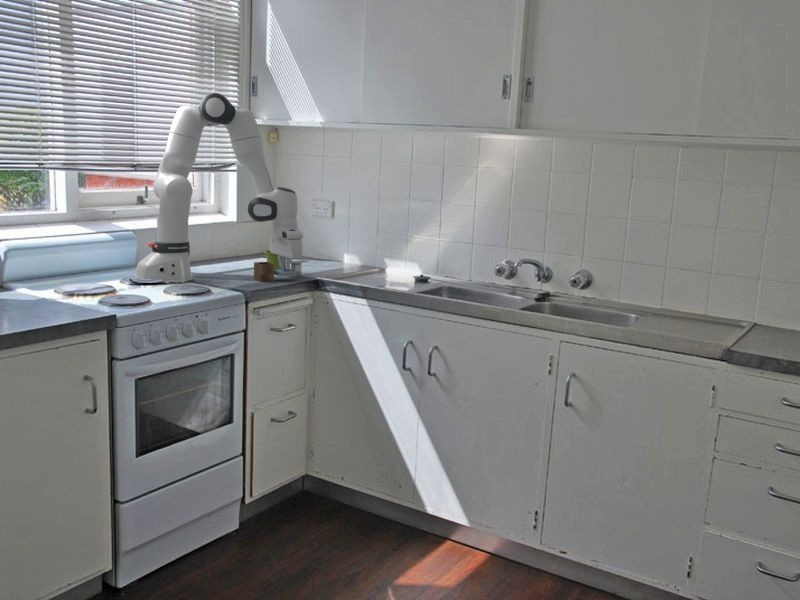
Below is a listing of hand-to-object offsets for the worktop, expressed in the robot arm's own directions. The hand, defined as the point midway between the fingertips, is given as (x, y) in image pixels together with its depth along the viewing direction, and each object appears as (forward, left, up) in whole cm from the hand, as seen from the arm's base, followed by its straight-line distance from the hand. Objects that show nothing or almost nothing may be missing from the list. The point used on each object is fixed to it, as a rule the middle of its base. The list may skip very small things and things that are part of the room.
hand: (284, 268), depth 319 cm
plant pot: (+5, +18, -6) cm, 20 cm away
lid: (0, 0, -3) cm, 3 cm away
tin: (+7, +6, -5) cm, 11 cm away
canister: (-7, +3, -5) cm, 9 cm away
